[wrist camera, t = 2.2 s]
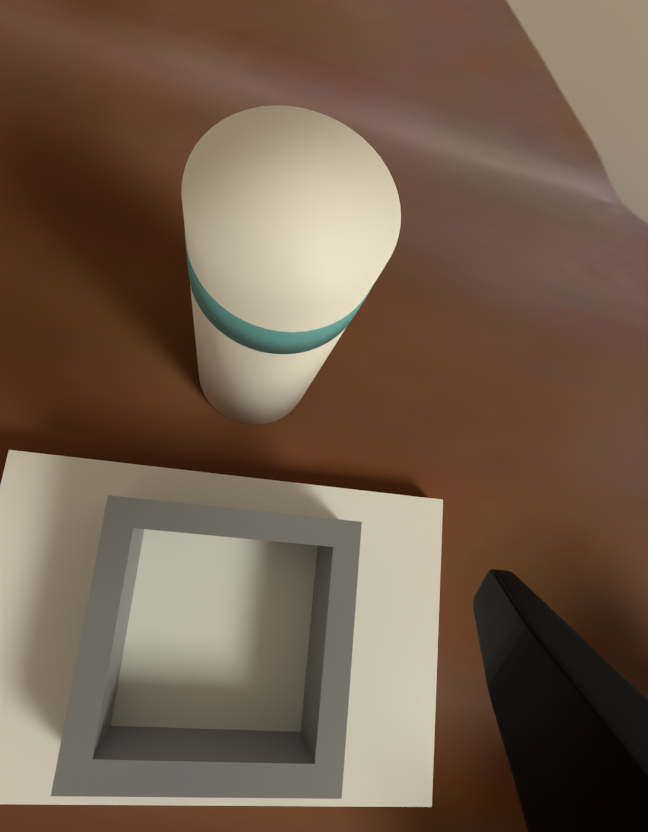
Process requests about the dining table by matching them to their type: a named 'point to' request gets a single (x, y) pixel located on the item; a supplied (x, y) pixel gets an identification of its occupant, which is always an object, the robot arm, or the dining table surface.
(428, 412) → the dining table surface
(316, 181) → the teal-banded cream cylinder
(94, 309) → the dining table surface
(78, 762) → the jig
